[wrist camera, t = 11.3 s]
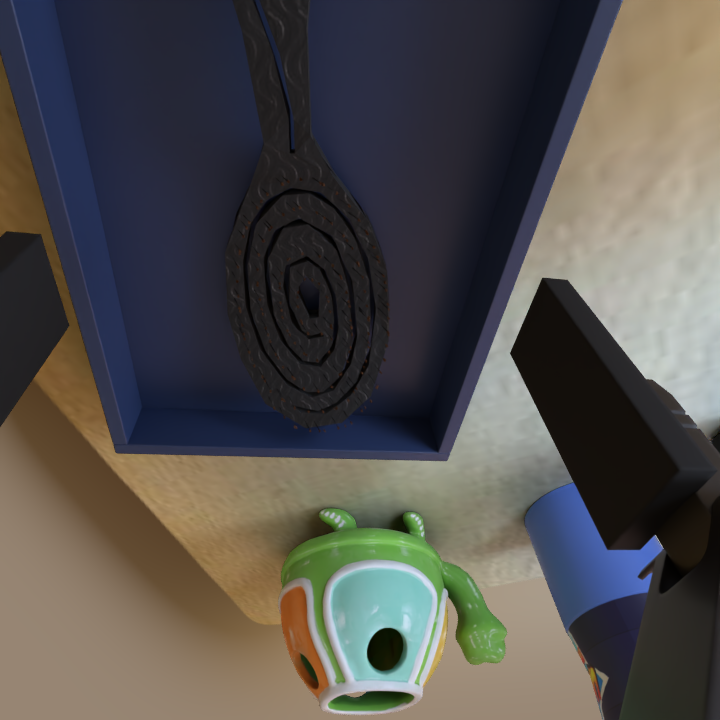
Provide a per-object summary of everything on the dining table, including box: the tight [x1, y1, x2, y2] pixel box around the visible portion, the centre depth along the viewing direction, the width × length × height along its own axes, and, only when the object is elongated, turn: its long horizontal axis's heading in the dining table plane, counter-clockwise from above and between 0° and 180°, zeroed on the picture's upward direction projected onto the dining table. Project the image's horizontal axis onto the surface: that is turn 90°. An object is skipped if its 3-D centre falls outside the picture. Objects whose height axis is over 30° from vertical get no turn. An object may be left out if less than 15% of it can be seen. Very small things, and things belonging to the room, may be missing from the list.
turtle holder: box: [278, 508, 507, 715], centre depth 38 cm, size 12×18×12 cm
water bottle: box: [525, 483, 663, 720], centre depth 32 cm, size 9×9×25 cm
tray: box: [0, 0, 623, 461], centre depth 20 cm, size 31×20×4 cm, turn 173°
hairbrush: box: [225, 0, 390, 433], centre depth 20 cm, size 8×4×25 cm
